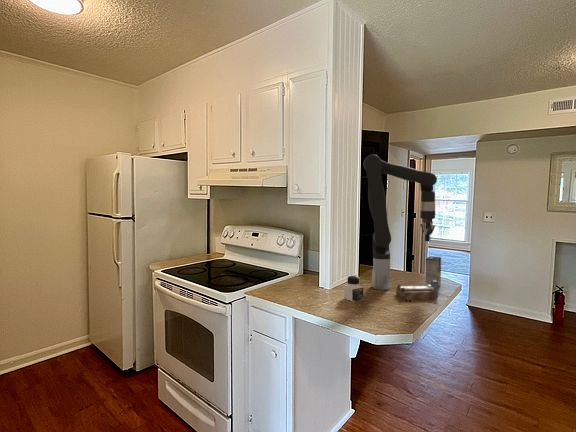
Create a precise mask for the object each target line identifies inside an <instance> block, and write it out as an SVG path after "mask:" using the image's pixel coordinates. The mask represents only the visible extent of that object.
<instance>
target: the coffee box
mask: <svg viewBox="0 0 576 432" xmlns="http://www.w3.org/2000/svg"><path fill="white" fill-rule="evenodd" d="M441 273H442V257H441V256H432V255H430V256H428V257H427V258H425V286H427V285H431V280H436V281H438V287H440V285H441V282H442V281H441V280H442V276H441V275H442V274H441Z"/></svg>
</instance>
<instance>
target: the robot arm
mask: <svg viewBox="0 0 576 432" xmlns="http://www.w3.org/2000/svg"><path fill="white" fill-rule="evenodd" d="M362 163H363V168H364V170H365V172H366V177H367V183H368V184H367V187H368V188H367V198H368V206H369V211H370V214H371V217H372V219H373V220H372V221H373V225H374V233H372V257H373V259H372V262H373V265H372V270H371V271H372V272H371V273H372V274H371V286H372V287H373V289H374V290H382V291H385V290H390V289H391V252H390V244H391V243H392V236H391V235H392V234H391V232H390V228H389V223H388V208H387V199H386V193H385V187H384V183H383V179H382V174H384V175H389V176H392V177H396V178H398V179H401V180H404V181H408V182H412V183H418V184H419V186H420V194H421V195H420V215H419V218H420V219H421V220H422V222H421V223H420V227H421V230H422V233H423V234H424V241H425V242H430V241H431V235H432V234H433V232H434V230H435V227H436V226H435V225H433V224H434V221H433V219H436V191H434V185H436V183H437V182H438V178H437V176H436V174H435V173H433V172H428V171H424V170H418V169H416V168H412V167H409V166H406V165H400V164H394V163H391V162H387V161H384V160H382V159H381V158H380V156H378V155H377V154H370V155H368V156H366V157H365V158H364V160H363V162H362Z"/></svg>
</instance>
